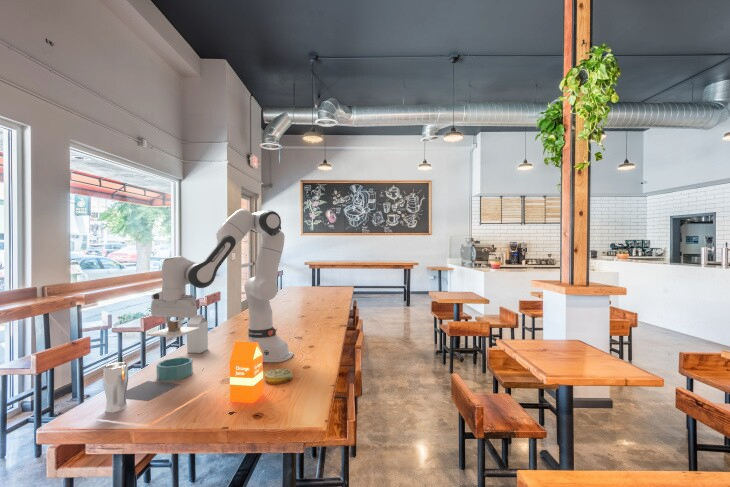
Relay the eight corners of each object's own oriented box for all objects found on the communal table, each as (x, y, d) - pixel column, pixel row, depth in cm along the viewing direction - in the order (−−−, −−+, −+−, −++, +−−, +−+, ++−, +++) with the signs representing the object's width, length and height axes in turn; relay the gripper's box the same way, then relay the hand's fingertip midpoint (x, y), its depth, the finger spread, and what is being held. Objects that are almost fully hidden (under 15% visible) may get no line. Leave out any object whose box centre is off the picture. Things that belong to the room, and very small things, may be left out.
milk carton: (199, 353, 186) (198, 316, 186) (187, 352, 188) (186, 315, 188) (208, 349, 193) (207, 313, 193) (196, 349, 195) (195, 313, 195)
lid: (200, 329, 159) (199, 318, 159) (176, 337, 145) (176, 325, 145) (172, 328, 162) (172, 317, 162) (147, 335, 148) (146, 323, 148)
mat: (181, 385, 143) (181, 383, 143) (148, 402, 128) (148, 401, 128) (147, 382, 147) (147, 380, 147) (111, 398, 132) (111, 397, 132)
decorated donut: (297, 379, 148) (297, 370, 148) (274, 387, 140) (274, 377, 140) (282, 373, 155) (282, 365, 155) (259, 381, 147) (259, 371, 147)
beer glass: (111, 406, 126) (111, 362, 126) (132, 405, 126) (132, 361, 126) (98, 415, 119) (98, 369, 119) (121, 414, 119) (120, 368, 119)
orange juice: (253, 403, 126) (252, 345, 126) (229, 401, 128) (229, 344, 128) (263, 394, 134) (262, 339, 134) (241, 392, 135) (240, 338, 136)
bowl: (198, 372, 158) (198, 358, 158) (176, 383, 146) (176, 368, 146) (173, 370, 161) (173, 356, 161) (149, 380, 149) (149, 366, 149)
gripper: (200, 294, 154) (200, 326, 154) (159, 293, 159) (160, 324, 159) (189, 296, 148) (190, 330, 148) (148, 295, 153) (148, 328, 153)
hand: (174, 327), depth 154 cm, fingers closed on lid, 3 cm apart
